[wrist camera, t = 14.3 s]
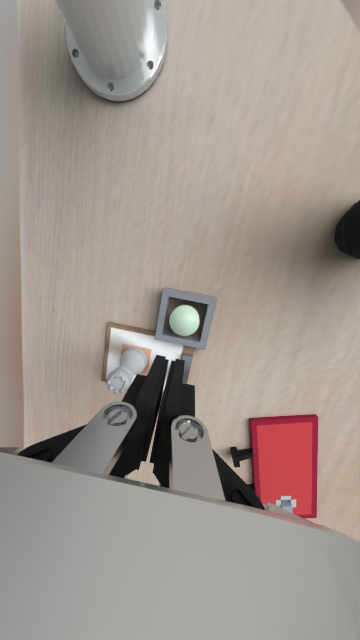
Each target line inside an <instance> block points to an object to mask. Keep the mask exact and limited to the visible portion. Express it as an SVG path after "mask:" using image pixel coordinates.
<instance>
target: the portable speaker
mask: <svg viewBox="0 0 360 640" xmlns="http://www.w3.org/2000/svg"><path fill="white" fill-rule="evenodd" d="M335 241H336V243H337V245H338V247H339V250H341V251H343V252H346V253H348V254H350V255H352V256H353V257H355V258H357V259H360V201H358V202H357V203H355V204H354V205H353V206H352V207H351V209H350V210H349V211H348V212H347V213H346V215H345V216H344V217H343V218H342V220H341V221H340V222H339V224H338V225H337V226H336V233H335Z"/></svg>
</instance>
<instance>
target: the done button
mask: <svg viewBox="0 0 360 640" xmlns="http://www.w3.org/2000/svg"><path fill="white" fill-rule="evenodd" d="M169 323H170V327H171V329H172V330H173V331H174V332H175V333H176V334H178V335H181V336H188V335H191V334H193V333H194V332H195V331H196V330H197V329H198V326H199V314H198V311H197V309H196V308H195V307H194V306H192V305H190V304H180V305H178V306H177V307H176V308H175V309H174V310H173V312H172V313H171V315H170V318H169Z"/></svg>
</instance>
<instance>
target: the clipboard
mask: <svg viewBox="0 0 360 640" xmlns="http://www.w3.org/2000/svg"><path fill="white" fill-rule="evenodd" d="M155 334H156V331H152V330H147V329H142V328H137V327H132V326H127V325H122V324H117V323H112V322H108V325H107V335H106V344H105V354H104V364H103V374H102V381H105V382H107V378H108V375H109V373H110V372H112V371H114V370H115V369H116V368H117V367H119V366H120V364H119V363H120V357H121V355H122V354H123V352H124V351H126V350H127V349H129V348H138V349H139V350H141V351H143V353H144V354H145V355H146V358H147V365H146V366H145V368H144V369H143V371H142V372H140V373H139V374H140V375H145V376H147V374H148V372H149V370H150V368H151V366H152V363H153V361H154V359H155V357H156V355H160V356H165V357H166V358H165V359H168V360H169V361H168V367H167V372H166V377H165V383H164V388H165V384H166V381H167V377H168V373H169V369H170V365H171V361H175V360H176V359H180V360H185V364H184V374H183V383H184V384H187V380H188V375H189V371H190V366H191V362H192V357H193V353H194V347H189V346H185V345H180V344H175V343H170V342H165V341H160V340H155ZM136 375H137V374H136ZM136 375H133V378H132V380H131V384H132V382H133V380H134V378H135V377H136ZM164 388H163V392H164ZM162 394H163V393H162Z"/></svg>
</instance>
